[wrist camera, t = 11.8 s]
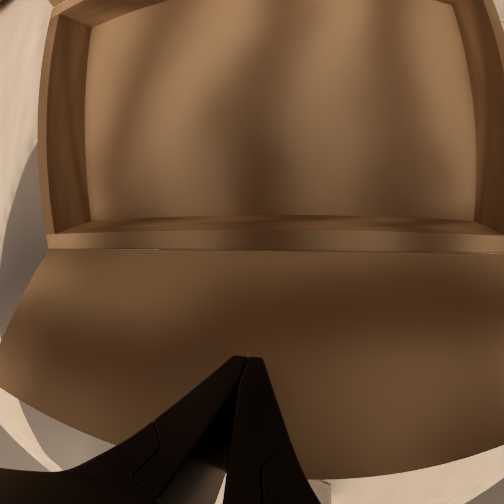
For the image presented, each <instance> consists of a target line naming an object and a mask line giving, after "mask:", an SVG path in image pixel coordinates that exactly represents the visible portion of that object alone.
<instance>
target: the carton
mask: <svg viewBox="0 0 504 504" xmlns="http://www.w3.org/2000/svg"><path fill="white" fill-rule="evenodd" d="M38 165H39V181H40V192H41V202H42V209H43V218H44V225H45V231H46V237H47V242H48V248H50V249H53V248H54V249H179V250H284V251H375V252H455V253H504V32H503V28H502V25H501V22H500V19H499V16H498V13H497V11H496V8H495V5H494V3H493V0H67V1H65V2H64V3H62V4H60V5H59V6H57V7H55V8H54V9H52V13H51V18H50V22H49V27H48V32H47V37H46V42H45V48H44V55H43V62H42V70H41V79H40V90H39V104H38Z"/></svg>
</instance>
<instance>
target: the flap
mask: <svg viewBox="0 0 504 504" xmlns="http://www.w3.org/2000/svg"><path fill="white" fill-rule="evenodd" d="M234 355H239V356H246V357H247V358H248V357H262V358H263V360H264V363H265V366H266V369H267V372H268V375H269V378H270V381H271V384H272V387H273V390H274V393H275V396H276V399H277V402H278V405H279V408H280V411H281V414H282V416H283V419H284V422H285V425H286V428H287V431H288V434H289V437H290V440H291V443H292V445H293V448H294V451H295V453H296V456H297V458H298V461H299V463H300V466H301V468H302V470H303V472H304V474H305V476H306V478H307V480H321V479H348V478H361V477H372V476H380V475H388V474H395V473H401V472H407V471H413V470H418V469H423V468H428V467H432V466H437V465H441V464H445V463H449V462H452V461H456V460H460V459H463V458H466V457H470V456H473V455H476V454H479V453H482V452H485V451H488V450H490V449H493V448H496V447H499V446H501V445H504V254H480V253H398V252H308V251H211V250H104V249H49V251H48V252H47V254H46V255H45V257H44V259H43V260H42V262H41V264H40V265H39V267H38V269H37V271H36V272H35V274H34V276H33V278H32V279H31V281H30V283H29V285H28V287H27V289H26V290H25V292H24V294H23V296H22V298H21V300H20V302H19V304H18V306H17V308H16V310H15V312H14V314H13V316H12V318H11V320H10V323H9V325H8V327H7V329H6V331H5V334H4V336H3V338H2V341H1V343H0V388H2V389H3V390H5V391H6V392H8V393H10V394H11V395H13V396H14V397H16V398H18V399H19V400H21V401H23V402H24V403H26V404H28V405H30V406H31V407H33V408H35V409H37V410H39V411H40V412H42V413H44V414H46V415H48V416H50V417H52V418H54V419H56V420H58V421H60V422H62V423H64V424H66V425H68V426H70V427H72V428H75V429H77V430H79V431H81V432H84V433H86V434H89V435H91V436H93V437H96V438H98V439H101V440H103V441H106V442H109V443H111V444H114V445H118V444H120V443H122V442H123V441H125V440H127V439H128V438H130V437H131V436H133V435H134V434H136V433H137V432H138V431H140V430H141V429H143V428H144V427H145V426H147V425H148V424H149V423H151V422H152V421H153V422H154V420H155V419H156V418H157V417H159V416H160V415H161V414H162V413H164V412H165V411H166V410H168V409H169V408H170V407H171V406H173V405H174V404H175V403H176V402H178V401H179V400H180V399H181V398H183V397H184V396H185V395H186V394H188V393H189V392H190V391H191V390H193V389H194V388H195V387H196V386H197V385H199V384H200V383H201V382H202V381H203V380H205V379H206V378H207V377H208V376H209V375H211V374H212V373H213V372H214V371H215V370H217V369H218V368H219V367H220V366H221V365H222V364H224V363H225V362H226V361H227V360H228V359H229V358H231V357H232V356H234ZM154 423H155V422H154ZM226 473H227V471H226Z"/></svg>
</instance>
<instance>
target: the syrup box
mask: <svg viewBox="0 0 504 504" xmlns="http://www.w3.org/2000/svg"><path fill="white" fill-rule="evenodd" d="M308 482H309V484H310V486H311V487H312V489H313V491H314V493H315V494H316V496H317V498H318V499H319V501H320V503H321V504H331V486H330V485H328V484H326V483H324V482H323V481H321V480H308Z"/></svg>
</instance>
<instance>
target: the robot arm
mask: <svg viewBox="0 0 504 504" xmlns="http://www.w3.org/2000/svg"><path fill="white" fill-rule="evenodd" d="M154 422H155V423H154ZM154 422H153V421H152V422H151V423H149V424H148V425H147V426H145V427H144V428H143V429H141V430H140V431H138V432H137V433H136V434H134V435H133V436H131V437H130V438H128V439H127V440H125V441H123V442H122V443H120V444H118V445H117V446H115V447H113V448H112V449H109V450H108V451H106V452H104V453H102V454H100V455H98V456H96V457H94V458H92V459H91V460H89V461H87V462H85V463H83V464H81V465H79V466H76V467H74V468H71V469H69V470H65V471H59V472H37V471H23V470H13V469H4V468H0V504H215V502H216V499H217V496H218V493H219V490H220V488H221V485H222V482H223V479H224V476H225V474H226V471H227V475H226V483H225V491H224V499H223V504H321V503H320V501H319V499H318V498H317V496H316V494H315V493H314V491H313V489H312V487H311V486H310V484H309V482H308V480H307V478H306V476H305V474H304V472H303V470H302V468H301V466H300V463H299V461H298V458H297V456H296V453H295V451H294V448H293V445H292V443H291V440H290V437H289V434H288V431H287V428H286V425H285V422H284V419H283V416H282V414H281V411H280V408H279V405H278V402H277V399H276V396H275V393H274V390H273V387H272V384H271V381H270V378H269V375H268V372H267V369H266V366H265V363H264V360H263V358H262V357H248V358H247V357H246V356H239V355H234V356H232V357H231V358H229V359H228V360H227V361H226V362H225V363H224V364H222V365H221V366H220V367H219V368H218V369H217V370H215V371H214V372H213V373H212V374H211V375H209V376H208V377H207V378H206V379H205V380H203V381H202V382H201V383H200V384H199V385H197V386H196V387H195V388H194V389H193V390H191V391H190V392H189V393H188V394H186V395H185V396H184V397H183V398H181V399H180V400H179V401H178V402H176V403H175V404H174V405H173V406H171V407H170V408H169V409H168V410H166V411H165V412H164V413H162V414H161V415H160V416H159V417H157V418H156V419H155V420H154Z"/></svg>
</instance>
